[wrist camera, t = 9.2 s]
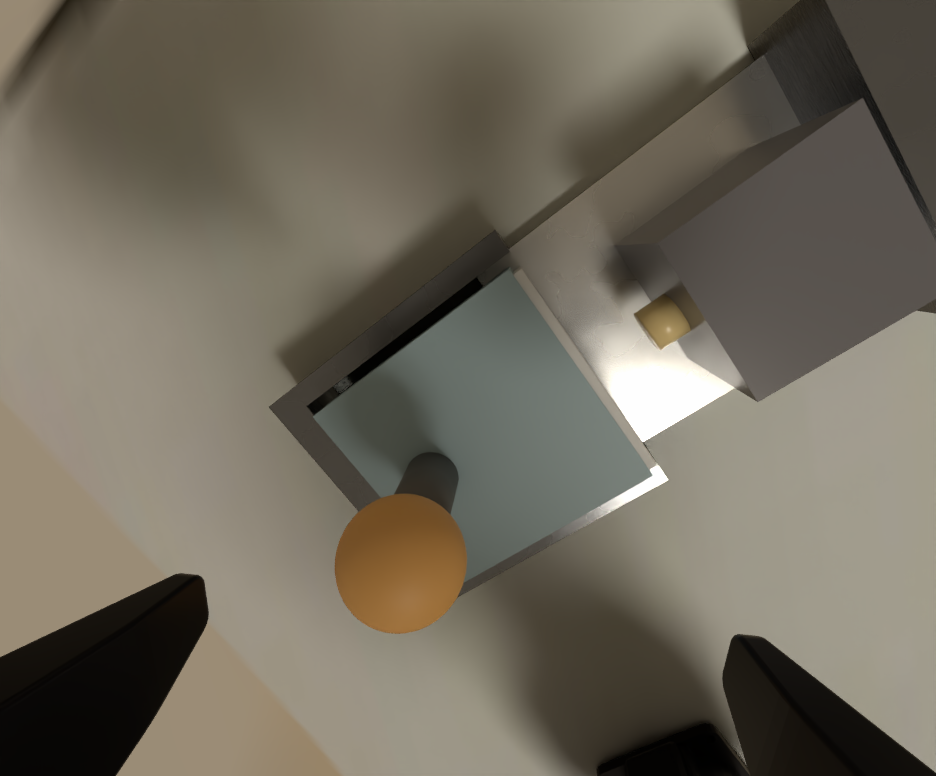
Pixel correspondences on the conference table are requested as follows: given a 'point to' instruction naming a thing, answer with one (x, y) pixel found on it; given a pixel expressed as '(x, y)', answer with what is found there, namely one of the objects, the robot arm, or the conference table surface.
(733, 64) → the conference table surface
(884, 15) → the press frame
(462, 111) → the conference table surface
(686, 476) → the conference table surface
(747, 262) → the block
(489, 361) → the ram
